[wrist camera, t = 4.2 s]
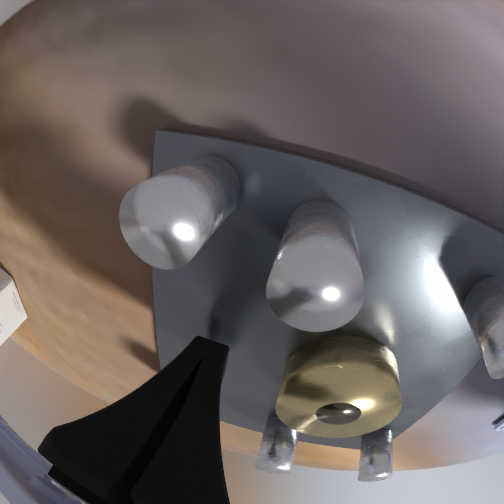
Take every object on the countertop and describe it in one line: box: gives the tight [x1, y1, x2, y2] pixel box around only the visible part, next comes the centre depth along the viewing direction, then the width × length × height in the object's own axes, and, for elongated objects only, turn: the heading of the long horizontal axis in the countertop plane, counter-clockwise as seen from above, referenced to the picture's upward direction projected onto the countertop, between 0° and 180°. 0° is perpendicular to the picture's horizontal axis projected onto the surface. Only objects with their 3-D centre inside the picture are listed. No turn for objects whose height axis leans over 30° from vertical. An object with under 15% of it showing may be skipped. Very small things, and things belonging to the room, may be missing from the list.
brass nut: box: [275, 336, 402, 438], centre depth 10 cm, size 5×5×2 cm
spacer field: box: [119, 129, 504, 482], centre depth 10 cm, size 15×16×4 cm
